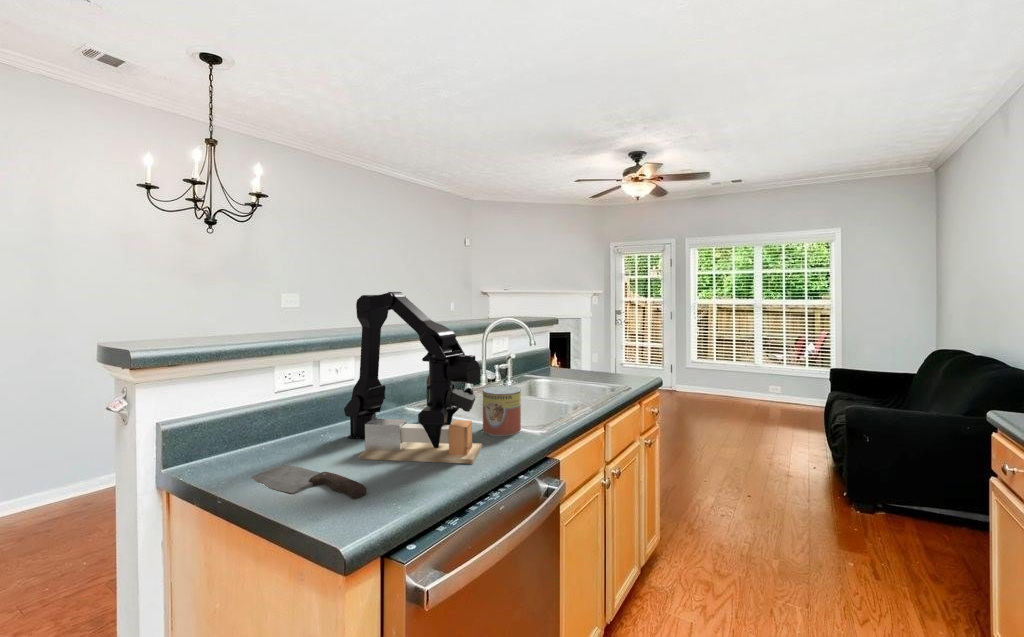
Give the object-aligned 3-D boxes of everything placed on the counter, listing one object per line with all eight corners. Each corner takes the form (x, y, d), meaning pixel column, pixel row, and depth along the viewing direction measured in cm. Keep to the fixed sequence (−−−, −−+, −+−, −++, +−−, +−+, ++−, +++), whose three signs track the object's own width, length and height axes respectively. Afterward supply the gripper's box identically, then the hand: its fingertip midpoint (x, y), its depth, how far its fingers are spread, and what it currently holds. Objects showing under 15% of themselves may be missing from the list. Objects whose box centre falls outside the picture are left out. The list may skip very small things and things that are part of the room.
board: (359, 458, 117) (359, 454, 117) (378, 443, 129) (378, 439, 128) (472, 463, 113) (472, 459, 113) (481, 447, 125) (481, 443, 125)
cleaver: (376, 491, 98) (375, 481, 98) (338, 510, 90) (338, 499, 90) (282, 468, 112) (281, 459, 112) (241, 483, 104) (241, 473, 104)
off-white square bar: (386, 441, 120) (386, 427, 120) (391, 437, 124) (391, 422, 123) (461, 444, 118) (461, 429, 117) (464, 439, 121) (464, 425, 121)
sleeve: (365, 450, 120) (364, 424, 120) (373, 443, 125) (373, 418, 125) (400, 451, 119) (399, 425, 118) (407, 444, 124) (406, 419, 124)
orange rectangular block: (449, 454, 117) (448, 426, 117) (454, 446, 123) (454, 420, 123) (467, 454, 116) (467, 427, 116) (472, 446, 122) (471, 420, 122)
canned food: (476, 433, 137) (476, 392, 137) (491, 423, 148) (491, 384, 147) (513, 437, 133) (513, 395, 133) (526, 427, 144) (526, 387, 143)
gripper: (464, 388, 109) (464, 455, 110) (479, 374, 128) (479, 432, 128) (417, 387, 110) (417, 453, 111) (438, 373, 129) (439, 430, 130)
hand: (441, 441), depth 120 cm, fingers open, 9 cm apart
